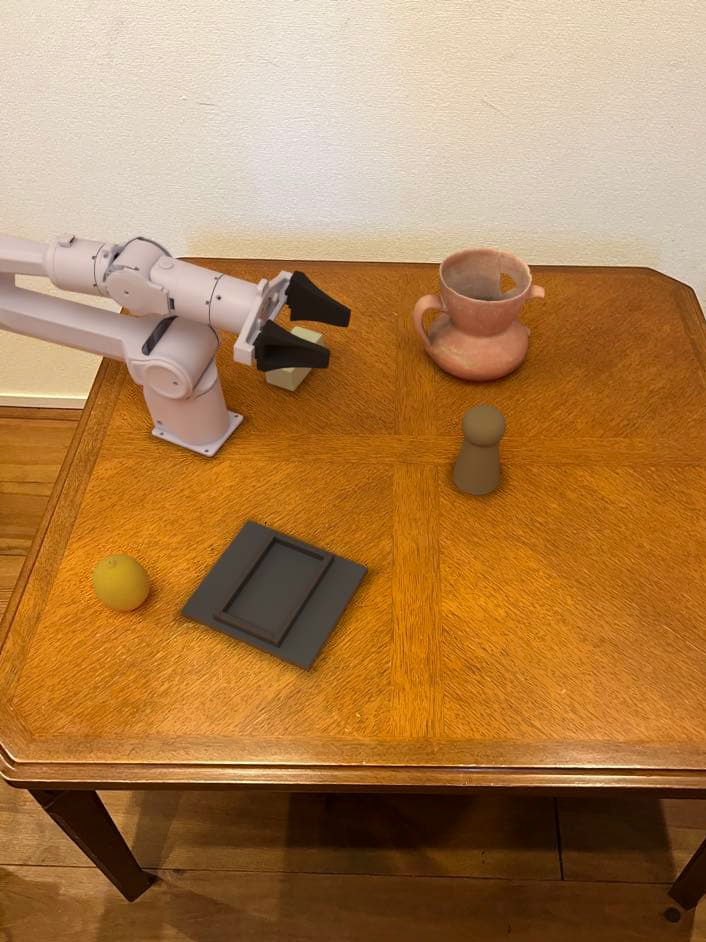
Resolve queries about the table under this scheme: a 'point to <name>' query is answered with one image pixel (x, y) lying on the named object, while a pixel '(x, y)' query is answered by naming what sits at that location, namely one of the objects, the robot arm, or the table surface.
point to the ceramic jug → (478, 315)
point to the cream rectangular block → (293, 376)
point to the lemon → (120, 582)
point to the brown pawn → (480, 450)
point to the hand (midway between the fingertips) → (339, 338)
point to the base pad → (276, 594)
